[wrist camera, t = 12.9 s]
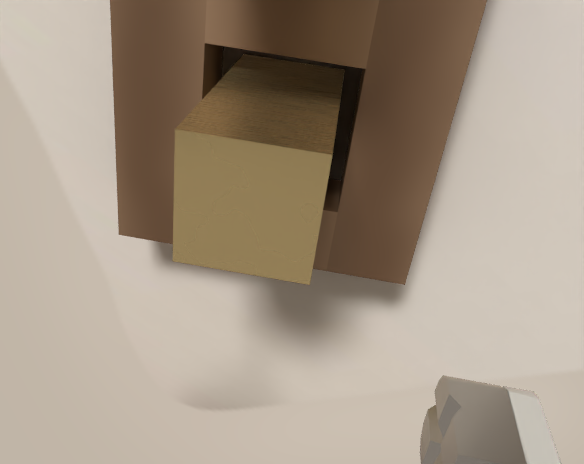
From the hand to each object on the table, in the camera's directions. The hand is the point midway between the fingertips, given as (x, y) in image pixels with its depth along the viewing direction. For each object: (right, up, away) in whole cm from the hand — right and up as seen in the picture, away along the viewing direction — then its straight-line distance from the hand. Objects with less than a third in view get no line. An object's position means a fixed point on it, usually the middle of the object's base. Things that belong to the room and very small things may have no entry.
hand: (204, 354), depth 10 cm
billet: (+1, +7, +13) cm, 15 cm away
